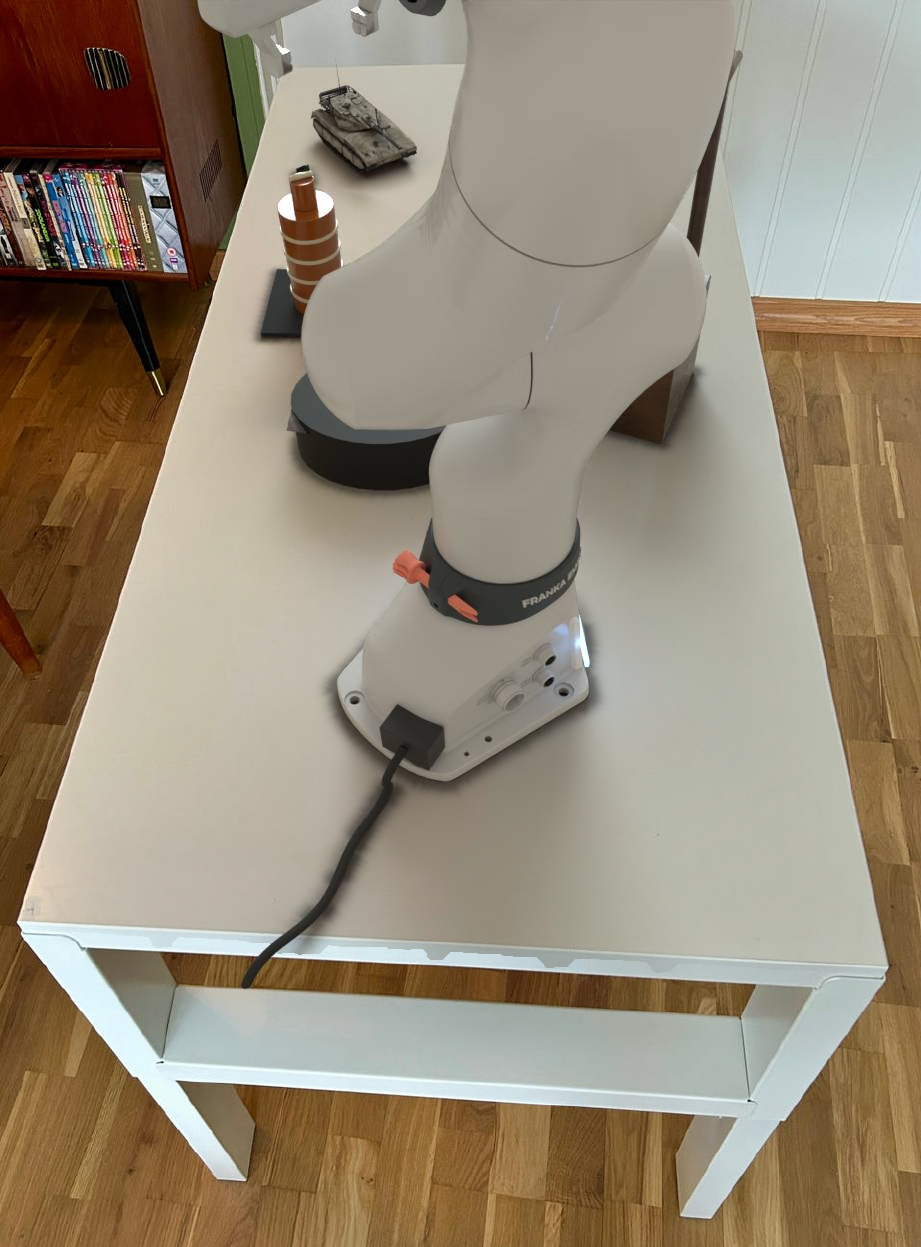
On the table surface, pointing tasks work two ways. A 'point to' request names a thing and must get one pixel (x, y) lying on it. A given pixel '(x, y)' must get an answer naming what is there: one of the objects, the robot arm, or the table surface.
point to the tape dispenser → (358, 447)
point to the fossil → (303, 168)
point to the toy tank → (359, 130)
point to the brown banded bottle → (308, 236)
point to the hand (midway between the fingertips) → (323, 52)
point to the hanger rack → (663, 396)
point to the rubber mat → (282, 310)
